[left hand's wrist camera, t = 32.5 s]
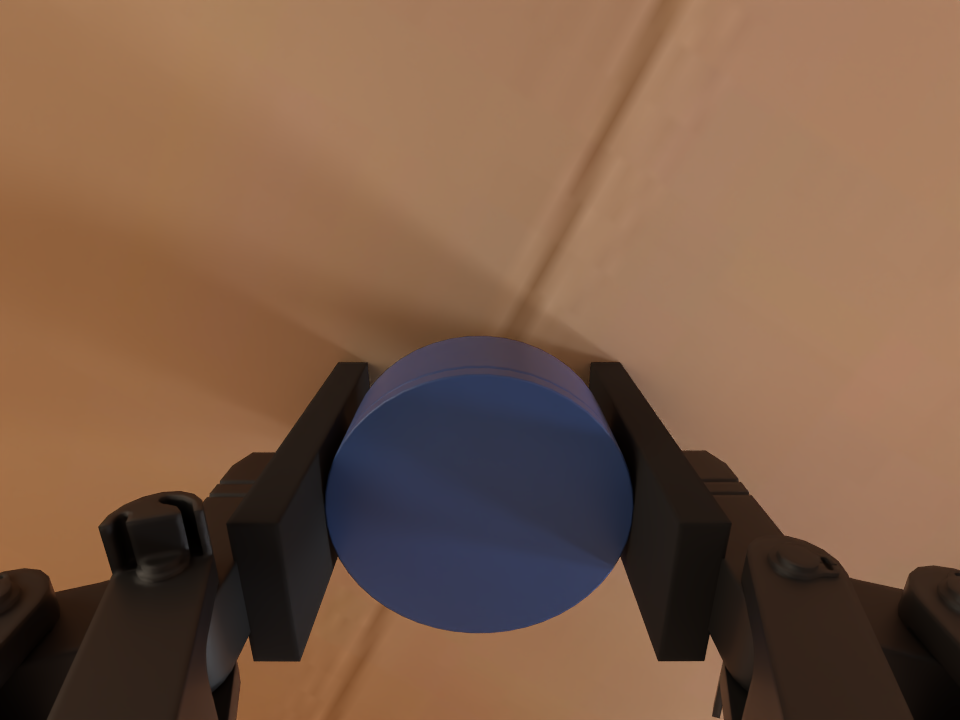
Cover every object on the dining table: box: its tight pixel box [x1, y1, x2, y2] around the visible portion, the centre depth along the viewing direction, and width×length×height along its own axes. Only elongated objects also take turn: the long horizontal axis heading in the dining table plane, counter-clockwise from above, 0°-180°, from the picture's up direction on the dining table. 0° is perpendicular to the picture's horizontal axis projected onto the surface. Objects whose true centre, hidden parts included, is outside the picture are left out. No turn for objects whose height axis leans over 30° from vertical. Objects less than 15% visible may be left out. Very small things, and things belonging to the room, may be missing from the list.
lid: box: [325, 336, 634, 633], centre depth 11 cm, size 6×6×2 cm
